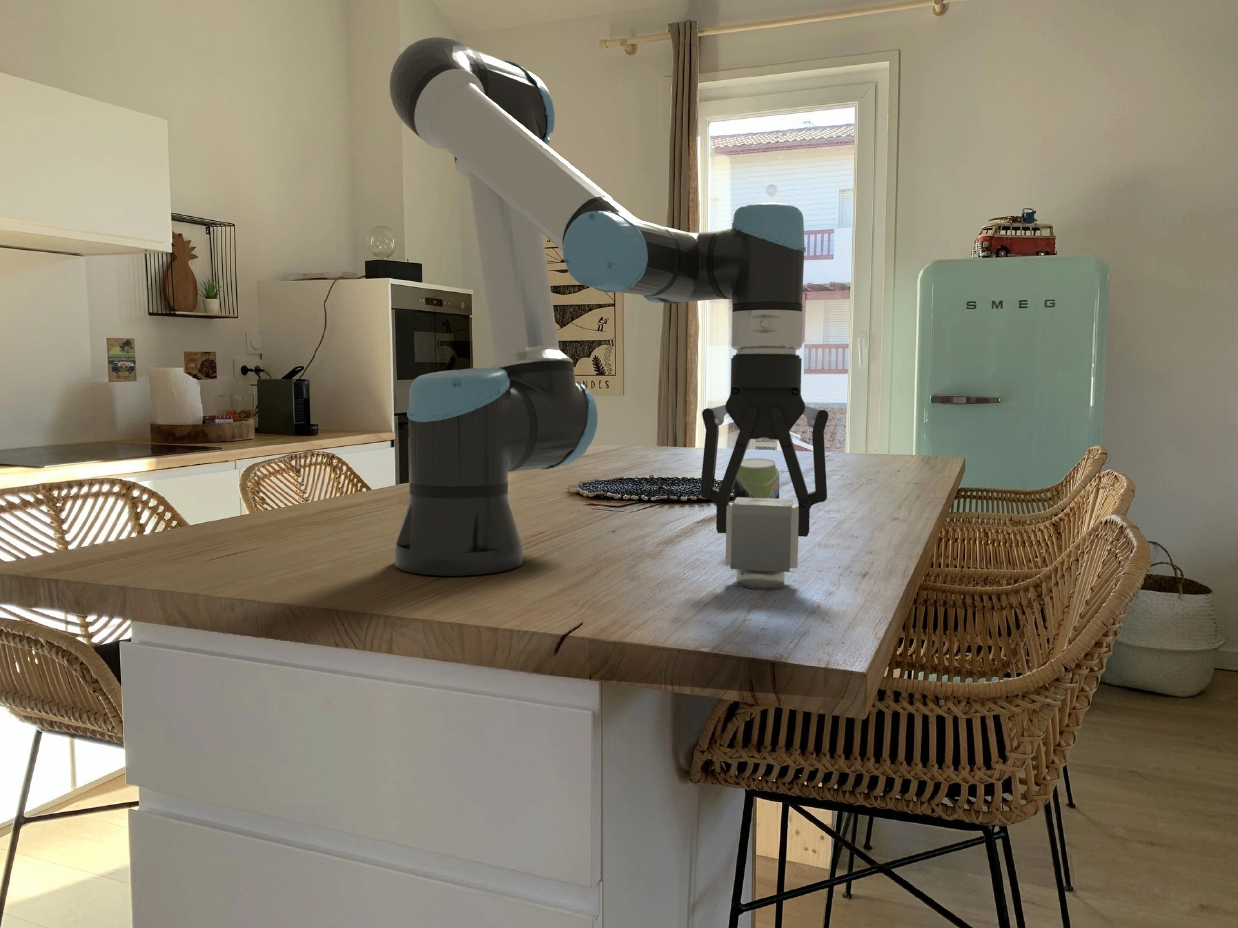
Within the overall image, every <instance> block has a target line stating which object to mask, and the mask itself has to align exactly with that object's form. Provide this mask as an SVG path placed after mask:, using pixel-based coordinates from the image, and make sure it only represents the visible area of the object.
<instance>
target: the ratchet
mask: <svg viewBox="0 0 1238 928" xmlns="http://www.w3.org/2000/svg"><path fill="white" fill-rule="evenodd" d="M785 573H786V572H779V571H760V570H741V569H736V585H737V586H739V587H742V588H746V589H751V590H767V591H768V590H769V591H770V590H778V589H781V588H784V587H785V575H786V574H785Z"/></svg>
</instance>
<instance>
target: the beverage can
mask: <svg viewBox="0 0 1238 928" xmlns="http://www.w3.org/2000/svg"><path fill="white" fill-rule="evenodd" d="M732 493H733V495H732V497H733V498H732V499H733V502H734V501H735V499H736V498H737V497H743V498H771V499H780V471H779V469H778V468H777V467H776V462H775V461H774V460H771V459H766V458H744V459H743V461H742V464H741V466H740V469H739V472H738V475H737V478H736V480H735V483H734V486H733V489H732ZM733 502H732V503H733Z"/></svg>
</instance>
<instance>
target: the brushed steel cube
mask: <svg viewBox="0 0 1238 928" xmlns="http://www.w3.org/2000/svg"><path fill="white" fill-rule="evenodd" d="M793 501H794V500H793V498H792V499H791V498H779V499H771V498H743V497H737V498H736V499H735V501H734V502H732V503H733V504H732V533H731V565H730V570H737V569H741V570H760V571H779V572H785V573H790V570H791V568H790V552H791V511H792V505H794V504H793Z"/></svg>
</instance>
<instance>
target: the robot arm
mask: <svg viewBox="0 0 1238 928" xmlns="http://www.w3.org/2000/svg"><path fill="white" fill-rule="evenodd" d="M389 77H390V78H389V94H390V99H391V102H392V103H391V104H392V105H393V107H394V111H395V112H396V114H397V115H398V117H399V118H400V119H401V121H402V122H403V123H404V125H406V126H407V128H409V129H410V130H411V131H412V132H413V133H414V134H415V135H417V136H418V138H420V139H421V140H422V141H423V142H424V143H426V144H427V145H428V146H430V147H433V148H436V149H440V150H441V149H445V150H447V152H449V153H450V154H451V155H452V156H453V159H454V165H455V168H456V171H458V173H459V174H461V175H462V176H464V177H465V178H466V179H468V181H469V187H470V195H471V203H472V208H473V209H472V211H473V217H474V223H475V225H474V226H475V229H476V237H477V239H476V240H477V246H478V252H479V259H480V268H481V272H482V274H481V275H482V281H483V287H484V294H485V302H486V308H487V317H488V322H489V330H490V337H491V344H492V351H493V358H492V361H491V362H490V363H489V365H488V366H487V367H481V368H480V367H478V368H475V367H474V368H464V369H451V370H442V371H437V372H429V373H426V374H422V375H419V376H417V377H416V378H414V379H413V381H412V383H411V384H410V387H409V391H408V392H409V393H408V394H409V396H408V407H407V409H406V410H407V411H406V416H407V418H408V419H407V421H408V423H407V425H408V426H407V427H408V458H409V459H408V462H409V463H408V464H409V465H408V466H409V467H408V471H409V474H408V475H409V477H408V479H409V481H408V482H409V501H408V504H407V508H406V511H405V515H404V517H403V521H402V524H401V526H400V527H401V528H400V529H399V530H400V531H399V533H398V536H397V540H396V543H395V545H394V546H395V548H394V566H395V567H396V568H397V569H398V570H401V571H403V572H406V573H407V572H408V573H412V574H419V575H428V576H442V577H443V576H448V577H449V576H452V577H453V576H454V577H455V576H456V577H459V576H474V575H485V574H487V575H488V574H495V573H500V572H505V571H509V570H513V569H515V568H518V567H520V566H522V564H523V560H524V559H523V558H524V557H523V553H524V551H523V542H522V539H521V536H520V533H519V530H518V527H517V523H516V521H515V517H514V514H513V512H512V507H511V504H510V502H509V472H510V473H511V472H521V471H522V472H523V471H529V470H530V471H532V470H546V471H547V470H550V469H555V468H558V467H561V466H566V465H567V466H568V465H570V464H572V463H573V462H576V461H577V460H579V459H580V458H581V457H582V456H584V454H585V453H586V452H587V449H588V448H589V446H590V445H591V444H592V443H593V440H594V437H595V436H596V432H597V427H598V419H599V418H598V416H599V415H598V407H597V404H596V399H595V397H594V396H593V394H592V392H591V391H590V390H589V389H587V387H586V386H585V385H584V384H583V383H581V382H580V381H577V380H576V376H575V370H574V363H573V359H572V358H570V357H569V356H568V355H566V354H565V353H564V352H563V351H561V350H560V347H559V339H558V332H557V325H556V317H555V310H554V304H553V298H552V297H553V296H552V289H551V282H550V276H549V270H548V262H547V254H546V249H545V241H544V236H545V237H546V239H548V240H549V241H550V242H552V243H553V244H554V245H555V246H556V247H557V248H558V249H560V250H561V251H562V257H563V261H564V262H565V265H566V268H567V272H568V273H569V275H570V276H571V278H572V279H574V280H575V281H576V282H577V283H579V284H580V285H583V286H585V287H589V288H593V289H595V290H597V291H600V292H604V293H620V294H621V293H622V294H631V295H638V296H639V295H640V296H643V298H645V300H646V301H648V302H651V303H663V304H672V305H678V304H681V303H686V302H687V303H688V302H698V301H701V302H702V301H712V300H713V301H714V300H731V303H732V304H731V305H732V306H731V311H732V312H731V339H730V340H731V342H730V343H731V345H730V346H731V348H732V350H736V352H735V354H733V355H732V357H731V358H730V359H731V360H730V391H729V392H730V393H729V397H728V398H727V400H726V403H725V404H723V405H720V406H716V407H706V408H703V410H702V412H701V416H702V417H701V418H702V420H703V425H704V428H705V435H704V436H705V437H704V447H703V457H702V468H701V477H700V478H701V479H700V489H699V495H700V497H701V498H703V499H707V500H709V501H712V502H713V503H714V504H715V506H716V513H715V514H716V518H715V522H716V524H715V528H716V531H717V534H726V535H725V566H731V533H732V504H733V502H730V498H731V494H732V493H733V486H734V483H735V480H736V478H737V475H738V472H739V469H740V466H741V464H742V461H743V460H744V459H745V455H746V452H747V450H748V446H749V444H750V441H751V440H759V439H763V438H766V439H769V440H777V441H778V443H779V445H780V446H779V447H780V449H781V452H782V455H783V457H784V461H785V464H786V468H787V471H788V474H789V477H790V480H791V483H792V484H791V485H792V487H793V489H794V494H795V497H796V500H797V503H798V504H793V505H792V511H791V552H790V569H798V566H799V565H798V563H799V537H801V538H803V537H808V535H809V533H810V517H811V516H810V515H811V513H810V512H811V511H810V510H811V507H813V506H814V505H816V504H819V503H825V501H827V499H828V489H827V486H828V485H827V469H826V452H825V451H826V450H825V449H826V448H825V436H824V435H825V434H824V433H825V429H826V425H827V423H828V420H829V412H828V410H827V409H823V408H821V409H820V408H819V409H818V408H816V407H812V406H809V405H806V403H805V401H804V399H803V398H802V360H803V359H802V357H801V355H799V354H797V350H799V351H800V349H801V348H802V347H803V323H804V322H803V321H804V320H803V317H804V312H803V291H804V290H803V289H804V270H805V269H804V266H805V253H806V250H807V248H806V246H805V227H804V226H805V225H804V215H803V212H802V211H801V210H800V209H799V207H796V206H793V205H791V204H788V203H782V202H779V203H778V202H760V203H751V204H747V205H744V206H740V207H738V208H737V209H736V210H735V212H734V214H733V220H732V223H731V224H732V226H731V228H727V229H724V230H723V229H722V230H716V231H705V232H704V231H703V232H687V231H684V230H678V229H675V228H671V227H666V226H662V225H659V224H657V223H656V224H655V223H651V222H648V221H644V220H641V219H639V218H638V217H636V216H635V215H633V214H632V213H631V212H630V211H628V210H627V209H625V207H623V206H622V205H620V204H619V203H618V202H616V200H614V198H612V197H611V196H610V195H609V194H607V193H606V192H605V191H604V190H602V189H601V187H599V186H598V185H596V184H595V183H594V182H593V181H591V180H590V179H589V178H588V177H586V176H585V175H584V174H583V173H582V172H580V171H579V170H578V169H577V168H575V167H574V166H573V165H571V164H570V163H569V161H567V160H566V159H564V158H563V157H562V156H561V155H559V154H558V153H557V152H556V151H554V149H552V148H551V147H550V146H548V145H549V143H550V142H551V138H550V137H549V136H550V134H551V133H553V132H554V129H555V116H556V115H555V108H554V107H555V106H554V103H553V99H552V96H551V94H550V92H549V89H548V88H547V86H546V85H545V84H544V82H543V81H542V80H541V79H540V78H539V77H538V76H537V75H535V74H534V73H532V72H531V71H530V70H529V71H528V70H527V69H526V68H524V67H523V66H521V65H519V64H517V63H516V62H513V61H508V60H502V59H500V58H497V57H495V56H493V55H490V54H488V53H486V52H483V51H481V50H478V49H477V48H474V47H471V46H470V45H469V46H468V45H466V44H465V43H462V42H460V41H458V40H454V39H453V38H445V37H442V36H441V37H439V36H438V37H436V36H433V37H428V38H427V37H426V38H423V39H420V40H416V41H415V42H414V43H411V44H410V45H408V46H407V47H406V48H405V49H404V50H403V51H402V52H401V53H400V54H399V56H398V57H397V59H396V60H395V62H394V64H393V67H392V69H391V72H390V76H389ZM727 414H728V416H729V417H730V418H731V420H732V422H734V424H735V426H736V427H737V429H738V430H739V432H738V435H737V438H736V441H735V443H734V447H733V450H732V453H731V455H730V458H729V461H728V464H727V466H726V470H725V473H724V475H723V478H722V481H721V484H720V486H719V489H718V488H715V487H714V486H715V478H716V467H717V456H718V447H719V446H718V445H719V438H720V437H719V435H720V428H719V427H720V426H722V425H723V424H724V421H725V416H726V415H727ZM801 416H804V417H806V424H807V426H808V427H809V428H811V429H812V434H811V435H812V437H811V439H812V454H813V455H812V457H813V472H814V473H813V474H814V475H813V476H814V489H815V490H813V491H810V492H809V491H808V487H807V485H806V481H805V477H804V474H803V471H802V468H801V466H800V462H799V459H798V455H797V453H796V450H795V446H794V443H793V438H792V436H791V435H792V434H791V432H790V431H791V429H793V427H794V426H795V425H796V423H797V422H798V421H799V419H800V418H801Z"/></svg>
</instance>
